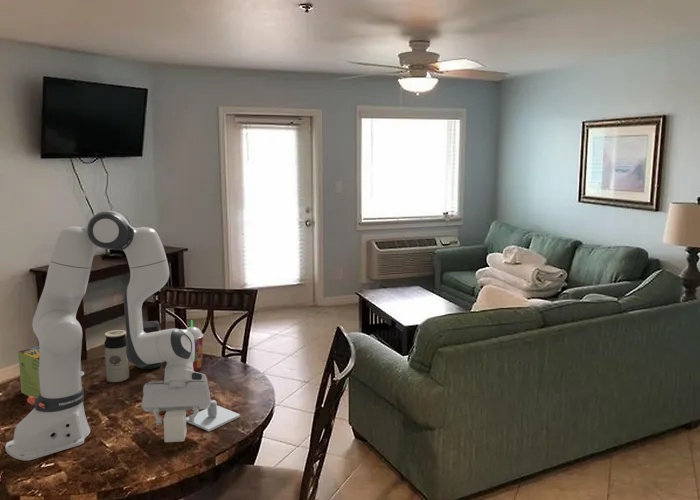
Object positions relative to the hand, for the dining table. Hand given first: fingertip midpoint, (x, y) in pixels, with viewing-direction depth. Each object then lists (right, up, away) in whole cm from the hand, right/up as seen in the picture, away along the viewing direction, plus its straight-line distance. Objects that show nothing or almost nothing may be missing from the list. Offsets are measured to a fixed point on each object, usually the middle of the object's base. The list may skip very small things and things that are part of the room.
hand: (175, 423), depth 174 cm
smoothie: (-10, +5, +56) cm, 57 cm away
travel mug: (-35, +3, +46) cm, 58 cm away
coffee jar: (-28, +5, +59) cm, 65 cm away
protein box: (-55, +1, +31) cm, 63 cm away
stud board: (+8, -3, +14) cm, 16 cm away
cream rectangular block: (0, -5, +1) cm, 5 cm away
